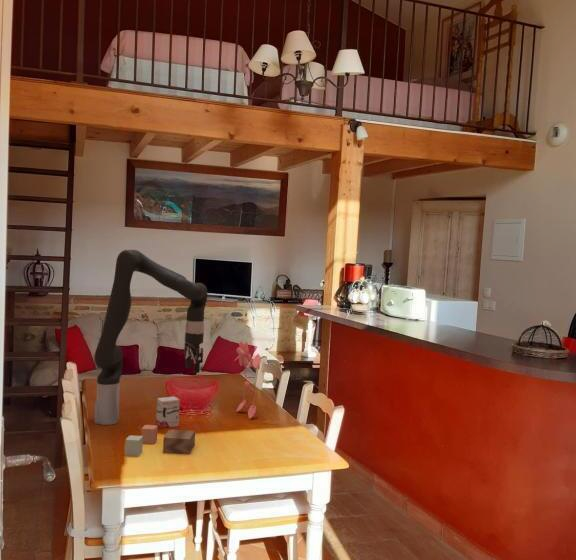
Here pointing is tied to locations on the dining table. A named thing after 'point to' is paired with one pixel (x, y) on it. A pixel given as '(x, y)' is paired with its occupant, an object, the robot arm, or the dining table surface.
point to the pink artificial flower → (244, 359)
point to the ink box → (167, 412)
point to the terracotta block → (149, 434)
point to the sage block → (133, 445)
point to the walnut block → (179, 441)
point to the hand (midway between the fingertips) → (192, 370)
